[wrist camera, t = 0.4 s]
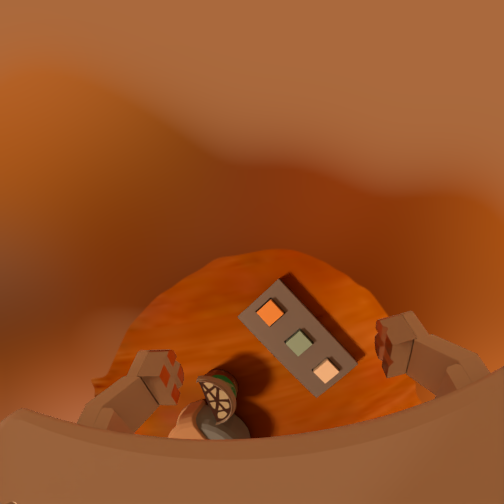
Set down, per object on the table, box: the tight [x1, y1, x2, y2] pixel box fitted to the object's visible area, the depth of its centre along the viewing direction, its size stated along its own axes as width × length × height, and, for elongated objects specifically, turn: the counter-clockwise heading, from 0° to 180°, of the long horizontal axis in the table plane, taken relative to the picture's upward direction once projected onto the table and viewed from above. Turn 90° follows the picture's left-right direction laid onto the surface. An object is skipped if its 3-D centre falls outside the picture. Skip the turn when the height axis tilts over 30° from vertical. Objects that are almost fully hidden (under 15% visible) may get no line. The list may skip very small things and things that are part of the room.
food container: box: [197, 369, 238, 425], centre depth 58 cm, size 12×6×10 cm, turn 19°
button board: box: [238, 278, 358, 398], centre depth 59 cm, size 26×12×3 cm, turn 43°
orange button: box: [256, 299, 284, 326], centre depth 58 cm, size 4×4×2 cm
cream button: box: [313, 358, 339, 383], centre depth 56 cm, size 4×4×2 cm
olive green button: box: [286, 329, 312, 356], centre depth 57 cm, size 4×4×2 cm
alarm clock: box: [168, 400, 250, 440], centre depth 57 cm, size 19×20×12 cm
